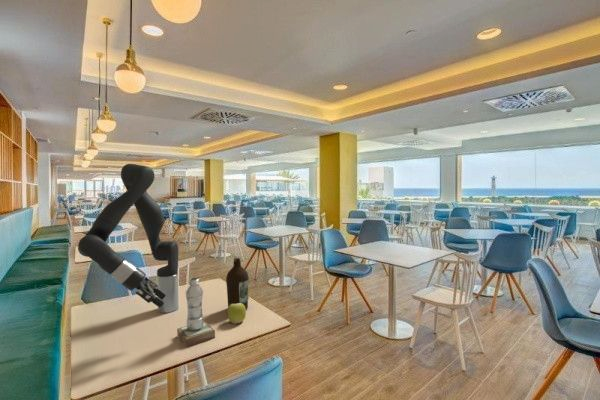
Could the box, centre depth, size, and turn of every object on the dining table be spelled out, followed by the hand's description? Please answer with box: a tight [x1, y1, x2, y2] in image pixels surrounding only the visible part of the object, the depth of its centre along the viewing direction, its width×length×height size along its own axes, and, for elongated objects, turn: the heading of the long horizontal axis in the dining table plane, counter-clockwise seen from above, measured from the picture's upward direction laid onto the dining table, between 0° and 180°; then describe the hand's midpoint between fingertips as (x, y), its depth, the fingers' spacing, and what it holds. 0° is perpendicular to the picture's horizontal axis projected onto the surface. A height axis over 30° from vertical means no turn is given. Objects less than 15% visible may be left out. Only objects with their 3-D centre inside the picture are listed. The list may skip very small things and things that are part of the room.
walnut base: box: [176, 320, 216, 348], centre depth 123 cm, size 11×11×3 cm
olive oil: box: [225, 256, 250, 311], centre depth 149 cm, size 11×11×25 cm
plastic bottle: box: [185, 277, 205, 330], centre depth 122 cm, size 6×7×20 cm
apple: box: [226, 301, 247, 325], centre depth 136 cm, size 8×8×10 cm
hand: (163, 301), depth 118 cm, fingers open, 8 cm apart
